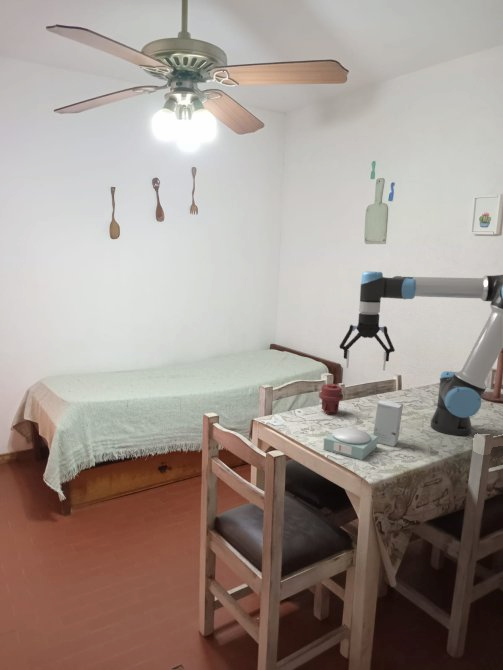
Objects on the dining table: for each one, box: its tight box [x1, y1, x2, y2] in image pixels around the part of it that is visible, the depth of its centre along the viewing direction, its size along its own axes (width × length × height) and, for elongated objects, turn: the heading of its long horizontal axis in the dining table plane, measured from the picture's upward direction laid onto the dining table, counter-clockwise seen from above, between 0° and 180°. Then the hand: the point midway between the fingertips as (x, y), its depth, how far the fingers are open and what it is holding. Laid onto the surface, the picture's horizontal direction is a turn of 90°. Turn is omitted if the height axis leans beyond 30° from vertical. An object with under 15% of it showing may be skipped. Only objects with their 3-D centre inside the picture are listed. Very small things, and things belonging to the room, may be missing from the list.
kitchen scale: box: [323, 427, 378, 461], centre depth 170 cm, size 14×15×5 cm
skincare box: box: [372, 399, 404, 447], centre depth 177 cm, size 8×6×15 cm
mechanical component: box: [318, 383, 344, 416], centre depth 208 cm, size 12×10×10 cm
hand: (365, 368), depth 187 cm, fingers open, 13 cm apart
